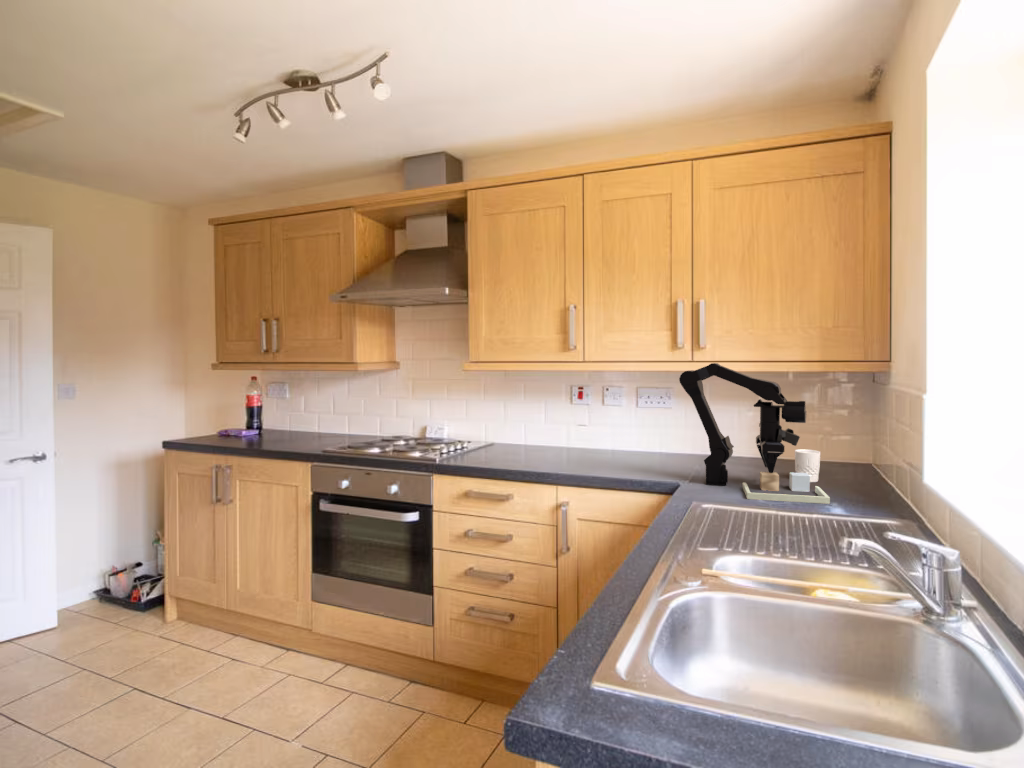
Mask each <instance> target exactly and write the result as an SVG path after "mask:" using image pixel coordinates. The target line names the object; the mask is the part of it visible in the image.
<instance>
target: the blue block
mask: <svg viewBox="0 0 1024 768" xmlns="http://www.w3.org/2000/svg"><path fill="white" fill-rule="evenodd" d="M788 482H789V484H788V486H789V489H790V490H791V491H792V492H803V493H804V492H808V493H809V492H810V490H811V489H810V488H811V482H810V476H809V475H808V474H807V473H796V472H793V471H791V472H789V481H788Z"/></svg>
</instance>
